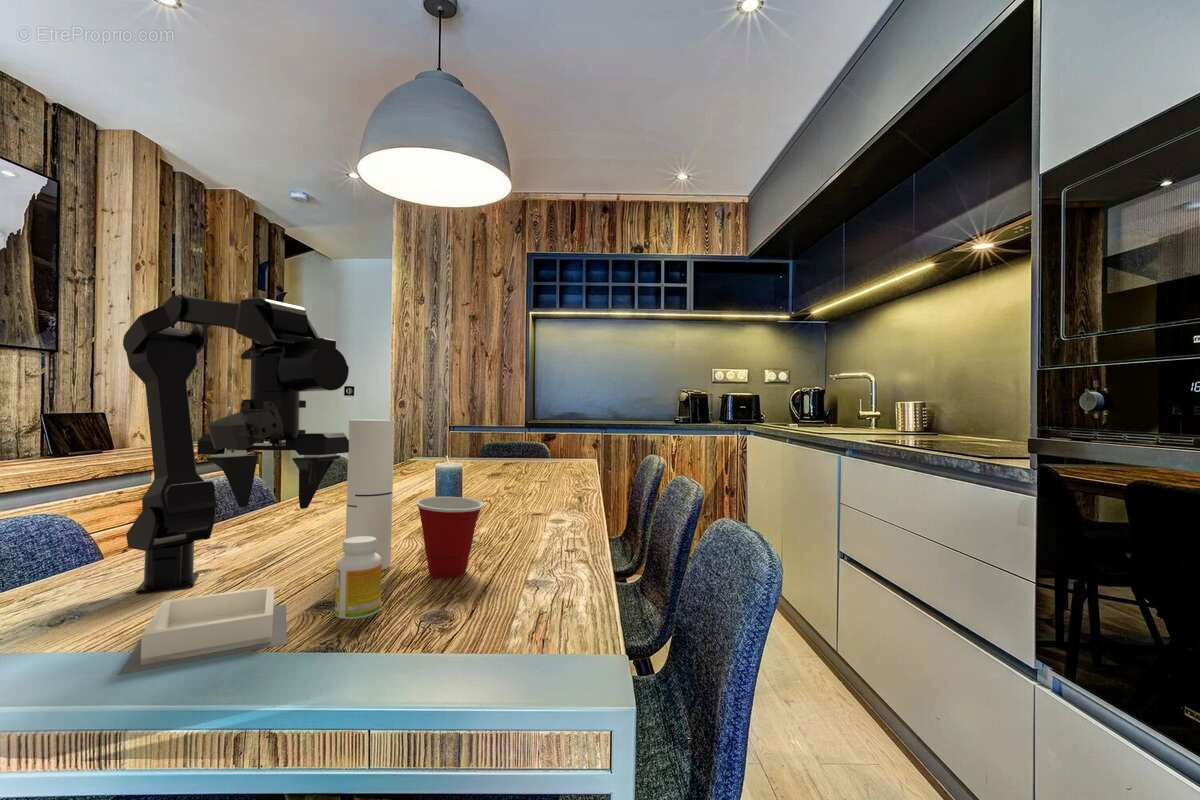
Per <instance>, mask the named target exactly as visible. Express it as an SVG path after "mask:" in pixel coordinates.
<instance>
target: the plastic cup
mask: <svg viewBox="0 0 1200 800" xmlns="http://www.w3.org/2000/svg"><path fill="white" fill-rule="evenodd" d="M416 506H417V507H418V510H419V516H420V522H421V528H422V536H423V537H422V538H423V543H424V551H425V552H424V553H425V556H426V561H427V569H428V572H429V577H431V578H434V579H435V578H436V579H454V578H457V577H458V578H459V577H461V576H464V575H465V574H466V572H467V569H468V564H469V558H470V553H471V550H472V545H473V540H474V535H475V530H476V524H477V521H478V518H479V515H480V512H481V510H482V509H483V508H484V506H485V504H484V502H482V501H479V500H477V499H473V498H467V497H458V496H430V497H429V496H428V497H423V498H420V499H418V500H416Z"/></svg>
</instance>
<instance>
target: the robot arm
mask: <svg viewBox="0 0 1200 800" xmlns="http://www.w3.org/2000/svg"><path fill="white" fill-rule="evenodd" d="M178 322H179V323H180V322H181V323H185V324H193V325H195V327H193V329H192V330H191V331H189V330H186V329H182V328H177V327H175V328H174V326H175V325H176V324H177V323H178ZM210 326H215V327H221V328H227V329H232V330H235V332H236V333H237V334H238V335H240V336H243V337H245V338H247V339H249V340H251V341H257V342H253V343H252V345H251V346H250V347H249V348H248V349H246V350H244V351H243V352H242V354H241V355H240V358H241V360H245V361H250V388H249V389H250V391H249V399H242V402H240V408H239V412H235V413H231V414H229V415H226V416H224V417H222V418H220V419H217V420H214V421H212V422H210V423H208V424H207V429H208V431H209V433H203V434H202V435H201V437H200V438H199V439H198V440H197V448H196V449H197V456H198V455H203V456H206V455H210V456H209V457H207V456H206V457H205V460H206V461H207V462H212V463H214V465H216V467H219V468H220V469H221V470H222V472H223V473H224V475H225V477H226V478H227V481H228V483H229V484H228V485H229V486H230V488H231V489H230V490H231V491H232V493H233V496H234V499H235V501H236V503H237V506H238V508H240V509H243V508H247V507H248V506H249V503H250V499H251V495H252V492H253V491H252V490H253V487H254V486H253V485H254V479H255V474H256V468H257V462H258V459H259V455H258V454H248V453H252V452H253V451H295V452H296V453H297V455H299V457H291V458H292V461H293V463H294V465H296V467H297V469H298V503H299V508H300V509H301V510H304V509H309V506H310V504H311V503H312V500H313V498H314V496H315V494H316V492H317V490H318V488H319V487H320V485H321V483H322V481H323V479H324V478H325V476H326V474H327V472H328V470H329V469H330V468H331V466H332V465H333V463H334V462H335V461H336V460H341V455H339V454H348V453H349V440H348V439H349V438H348V437H347V435H346V434H345V432H311V433H310V432H309V433H307V432H306V429H300V409H306V408H307V401H306V400H301V399H300V392H301V393H302V392H325V391H326V392H329V391H331V392H332V391H336V390H339V389H341V388H342V387H343V386H344V385H345V383H346V382H347V380H348V377H349V372H350V371H349V365H348V363H347V360H346V358H345V356H344V355H343V353H342V352H341V351H339V350H338V349H337V341H336V340H335V339H331V338H326V337H325V338H324V337H319V336H320V335H318V333H317V332H316V329H315V328H314V326H313V324H312V322H311V320H310V318H308V314H307V310H306V309H305V308H304V307H302V306H299V305H295V304H291V303H287V302H283V301H277V300H273V299H269V298H268V299H267V298H264V297H259V296H257V297H250V298H243V299H240V300H239V301H238V302H230V301H229V302H228V301H222V300H221V301H220V300H213V299H206V298H201V297H196V296H191V295H186V294H173V295H171V296H170V297H169V298H168V299H167V300H166V301H165V302H164V304H163V305H161V306H159V307H156V308H154V309H151V310H150V311H147V312H144V313H143V314H141V315H139V316H138V317H137V318H136V319H135V321H134V322H133V323H132V325H130V327H129V328H128V329H127V331H126V332H125V333H124V335H123V339H122V343H123V344H122V345H123V349H124V351H125V354H126V358H127V362H128V367H129V368H130V370H132V372H133V373H134V374H135V375H136V376H137V377H138V378H139V379H140V380H141V382H142V383H143V384H144V387H145V393H146V394H145V395H146V405H147V406H146V407H147V412H148V413H147V414H148V415H147V416H148V417H147V418H148V426H149V435H150V445H151V455H152V463H153V474H154V475H153V476H154V477H153V478H154V479H153V481H152V482H151V484H150V486H149V487H148V489H147V490H146V492H145V493H144V495H143V496H142V499H141V506H142V507H141V512H140V514H139V515H138V517H137V518H136V519H135V521H134V522H133V523H132V526H130V528H128V531H127V532H126V543H127V547H128V549H132V550H137V551H138V550H139V551H142V552H143V551H144V570H143V571H144V572H143V573H144V574H143V581H142V582H141V583H140V585H138V587H137V588H136V590H135V594H145V593H151V592H153V593H154V592H160V591H169V590H178V589H186V588H192V587H194V586H195V584H196V581H197V580H198V577H199V575H200V573H199V572H194V565H195V564H194V561H195V542H197V541H203V540H210V538H211V535H212V532H213V528H214V525H215V521H216V518H217V514H218V505H219V504H218V502H217V500H216V492H215V490H216V486H215V484H214V483H213V481H212V480H206V481H205V480H204V479H203V478H202V477H201V475H200V474H199V473H197V465H196V458H195V457H196V456H195V447H194V439H193V429H192V421H191V411H190V401H189V392H188V383H187V382H188V379H189V378H190V376H191V374H192V373H193V372H194V370H195V368H196V367H197V365H198V354H199V353H200V352H202V350H203V349H204V347H206V345H207V344H208V343H209V339H208V336H209V335H208V328H209V327H210ZM266 440H269V441H268V442H265V441H266ZM282 441H283V442H282Z"/></svg>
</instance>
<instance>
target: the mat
mask: <svg viewBox="0 0 1200 800" xmlns="http://www.w3.org/2000/svg"><path fill="white" fill-rule="evenodd" d="M287 636H288V635H287V604H280V605H274V611H273V631H272V642H268V643H262V644H257V645H251V646H245V647H240V648H234V649H229V650H223V651H217V652H212V653H206V654H201V655H195V656H189V657H184V658H178V659H172V660H167V661H161V662H156V663H150V664H144V665H141V640H142V637H141V638H140V639H139V641H138V643H137V644H136V645H135V646H134V649H133V651H132V652H131V654H130V655H129V656H128V658H127V659H126V662H125V663H124V665H123V666H122V668H121V669H120V671H119V672H118V674H117V675H118V676H122V675H127V674H131V673H137V672H142V671H148V670H154V669H158V668H163V667H165V668H166V667H169V666H170V667H171V666H175V665H176V666H177V665H181V664H185V663H192V662H198V661H201V660H202V661H203V660H208V659H214V658H219V657H225V656H230V655H234V654H235V655H236V654H241V653H246V652H252V651H253V652H254V651H257V650H262V649H269V648H273V647H278V646H284V645H287V643H288V642H287Z"/></svg>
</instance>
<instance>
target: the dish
mask: <svg viewBox="0 0 1200 800" xmlns="http://www.w3.org/2000/svg"><path fill="white" fill-rule="evenodd" d="M274 606H275V586H274V585H273V586H264V587H256V588H250V589H242V590H235V591H226V592H221V593H220V592H218V593H212V594H205V595H204V594H203V595H197V596H189V597H182V598H174V599H166V600H163V601H162V602H161V604H160V606H159V607H158V609H157V610H156V612H155V613H154V615H153V616H152V618H151V620H150V621H149V622H148V625H147V626H146V628H145V629H144V631H143V632H142V634H141V638H142V640H141V665H144V664H150V663H156V662H161V661H167V660H172V659H178V658H184V657H189V656H195V655H201V654H206V653H212V652H217V651H223V650H229V649H234V648H240V647H245V646H251V645H257V644H262V643H268V642H272V631H273V611H274Z"/></svg>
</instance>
